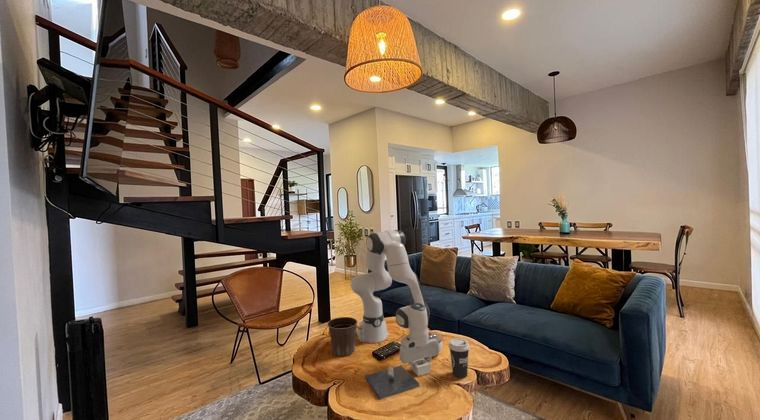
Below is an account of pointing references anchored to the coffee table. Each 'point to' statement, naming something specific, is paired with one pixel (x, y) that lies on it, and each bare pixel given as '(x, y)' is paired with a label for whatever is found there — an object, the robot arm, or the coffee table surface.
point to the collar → (421, 367)
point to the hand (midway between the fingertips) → (420, 367)
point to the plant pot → (342, 335)
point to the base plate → (391, 381)
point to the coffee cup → (459, 357)
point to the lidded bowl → (438, 338)
